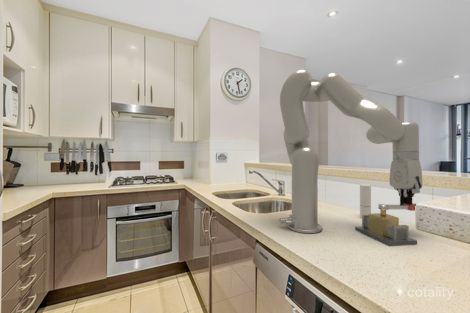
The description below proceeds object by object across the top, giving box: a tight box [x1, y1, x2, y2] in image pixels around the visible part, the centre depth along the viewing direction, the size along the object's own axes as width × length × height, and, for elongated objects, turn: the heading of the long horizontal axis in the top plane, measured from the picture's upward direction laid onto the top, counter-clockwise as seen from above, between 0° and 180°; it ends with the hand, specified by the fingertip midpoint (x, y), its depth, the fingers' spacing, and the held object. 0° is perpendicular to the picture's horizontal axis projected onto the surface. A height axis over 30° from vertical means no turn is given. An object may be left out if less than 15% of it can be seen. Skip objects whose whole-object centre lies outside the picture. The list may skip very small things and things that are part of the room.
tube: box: [359, 183, 372, 219], centre depth 98 cm, size 4×4×15 cm
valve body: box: [354, 209, 418, 247], centre depth 74 cm, size 10×15×9 cm, turn 8°
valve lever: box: [378, 202, 417, 212], centre depth 74 cm, size 14×3×2 cm, turn 90°
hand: (406, 207), depth 78 cm, fingers closed
